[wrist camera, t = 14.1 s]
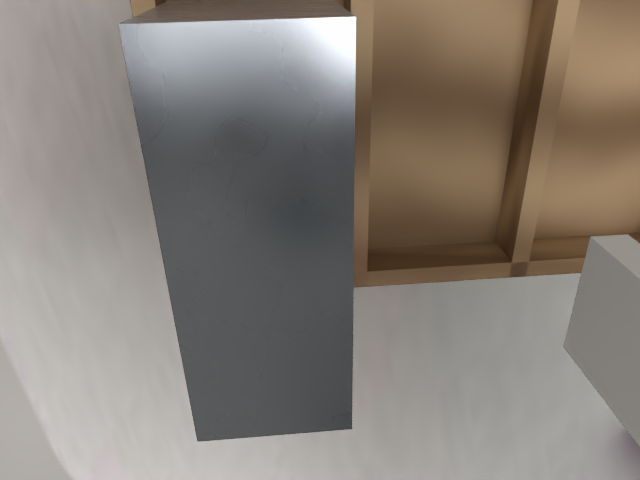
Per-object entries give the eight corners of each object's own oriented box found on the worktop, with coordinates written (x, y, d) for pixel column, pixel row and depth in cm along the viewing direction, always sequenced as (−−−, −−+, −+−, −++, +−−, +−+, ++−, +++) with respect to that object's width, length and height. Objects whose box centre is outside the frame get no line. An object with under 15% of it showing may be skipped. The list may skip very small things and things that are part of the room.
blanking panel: (316, 223, 24) (352, 428, 14) (229, 228, 24) (197, 441, 14) (309, -18, 20) (355, 16, 9) (200, -15, 19) (118, 24, 9)
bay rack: (640, 236, 27) (684, 269, 24) (191, 263, 26) (181, 302, 23) (744, -106, 20) (823, -117, 17) (133, -95, 19) (109, -104, 16)
